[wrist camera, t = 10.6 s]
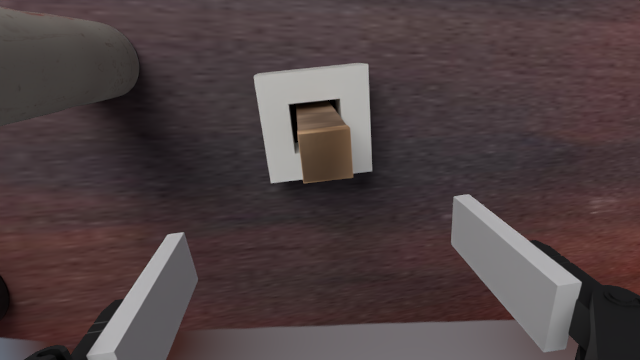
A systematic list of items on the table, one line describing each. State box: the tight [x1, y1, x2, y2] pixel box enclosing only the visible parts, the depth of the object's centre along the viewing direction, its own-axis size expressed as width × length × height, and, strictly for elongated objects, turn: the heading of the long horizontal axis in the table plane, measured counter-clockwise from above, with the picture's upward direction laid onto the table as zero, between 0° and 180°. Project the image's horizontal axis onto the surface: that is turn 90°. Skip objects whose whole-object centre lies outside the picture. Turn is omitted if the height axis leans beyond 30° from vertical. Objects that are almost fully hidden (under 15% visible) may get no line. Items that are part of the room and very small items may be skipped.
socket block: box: [254, 63, 372, 183], centre depth 38 cm, size 12×12×5 cm
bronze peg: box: [296, 101, 353, 183], centre depth 33 cm, size 4×4×16 cm
